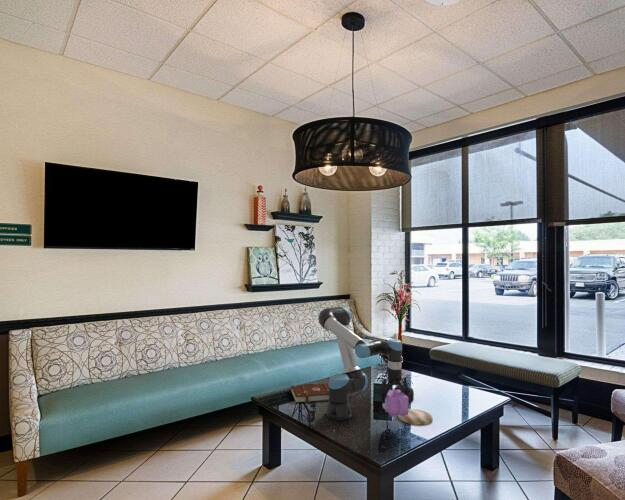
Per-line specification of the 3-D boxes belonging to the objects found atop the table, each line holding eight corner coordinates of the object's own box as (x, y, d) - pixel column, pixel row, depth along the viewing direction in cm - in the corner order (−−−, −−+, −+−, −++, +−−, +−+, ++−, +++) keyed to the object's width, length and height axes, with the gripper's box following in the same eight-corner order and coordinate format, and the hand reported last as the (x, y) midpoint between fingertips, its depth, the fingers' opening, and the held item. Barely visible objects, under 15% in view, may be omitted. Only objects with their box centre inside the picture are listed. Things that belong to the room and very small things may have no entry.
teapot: (410, 419, 204) (410, 396, 204) (392, 420, 202) (392, 397, 202) (394, 404, 224) (395, 382, 224) (378, 405, 222) (379, 383, 222)
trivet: (409, 427, 213) (409, 425, 213) (391, 413, 232) (391, 411, 232) (439, 422, 219) (439, 420, 219) (419, 409, 238) (419, 407, 238)
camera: (412, 396, 260) (412, 381, 260) (414, 402, 250) (414, 386, 250) (392, 395, 261) (392, 380, 262) (393, 400, 252) (393, 385, 252)
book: (342, 400, 254) (342, 392, 254) (295, 403, 247) (295, 395, 248) (333, 388, 276) (333, 381, 276) (290, 391, 270) (290, 384, 270)
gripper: (379, 371, 206) (378, 412, 206) (416, 368, 213) (415, 408, 213) (372, 367, 213) (372, 407, 213) (409, 364, 220) (408, 402, 220)
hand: (393, 407), depth 213 cm, fingers closed on teapot, 10 cm apart
